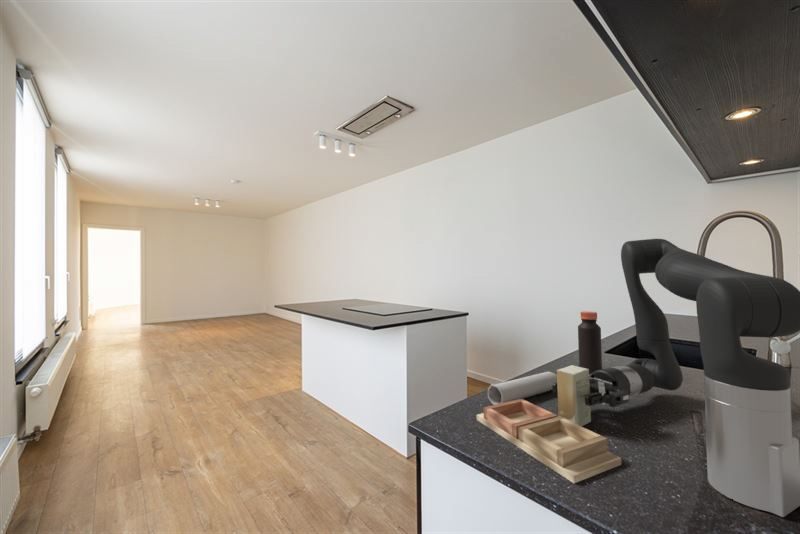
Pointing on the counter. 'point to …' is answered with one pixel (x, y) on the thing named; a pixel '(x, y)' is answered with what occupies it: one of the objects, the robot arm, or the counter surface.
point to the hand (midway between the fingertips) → (569, 394)
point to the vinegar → (589, 342)
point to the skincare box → (573, 394)
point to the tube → (521, 387)
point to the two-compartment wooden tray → (550, 439)
